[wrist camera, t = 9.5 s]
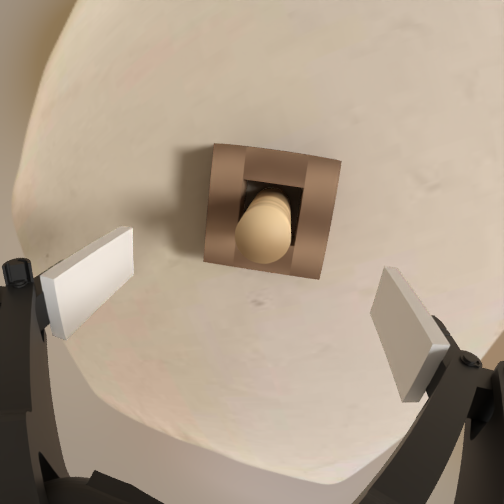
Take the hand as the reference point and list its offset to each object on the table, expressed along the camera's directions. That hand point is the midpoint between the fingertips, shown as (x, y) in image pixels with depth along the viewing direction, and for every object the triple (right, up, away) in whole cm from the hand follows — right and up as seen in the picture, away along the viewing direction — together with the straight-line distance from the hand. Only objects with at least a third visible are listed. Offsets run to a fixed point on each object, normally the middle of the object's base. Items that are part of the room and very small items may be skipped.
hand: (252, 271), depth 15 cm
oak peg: (+2, +6, +18) cm, 19 cm away
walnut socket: (+2, +6, +18) cm, 19 cm away
